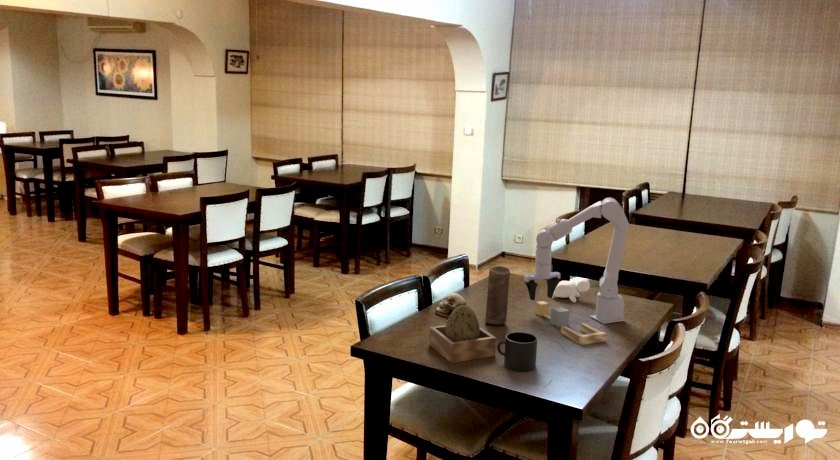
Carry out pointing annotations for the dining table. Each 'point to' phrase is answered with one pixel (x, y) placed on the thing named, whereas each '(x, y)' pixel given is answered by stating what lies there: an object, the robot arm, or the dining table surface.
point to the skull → (450, 304)
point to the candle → (497, 295)
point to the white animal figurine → (571, 289)
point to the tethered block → (553, 314)
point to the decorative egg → (462, 324)
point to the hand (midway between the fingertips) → (541, 298)
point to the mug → (519, 351)
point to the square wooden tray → (462, 345)
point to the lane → (588, 338)
